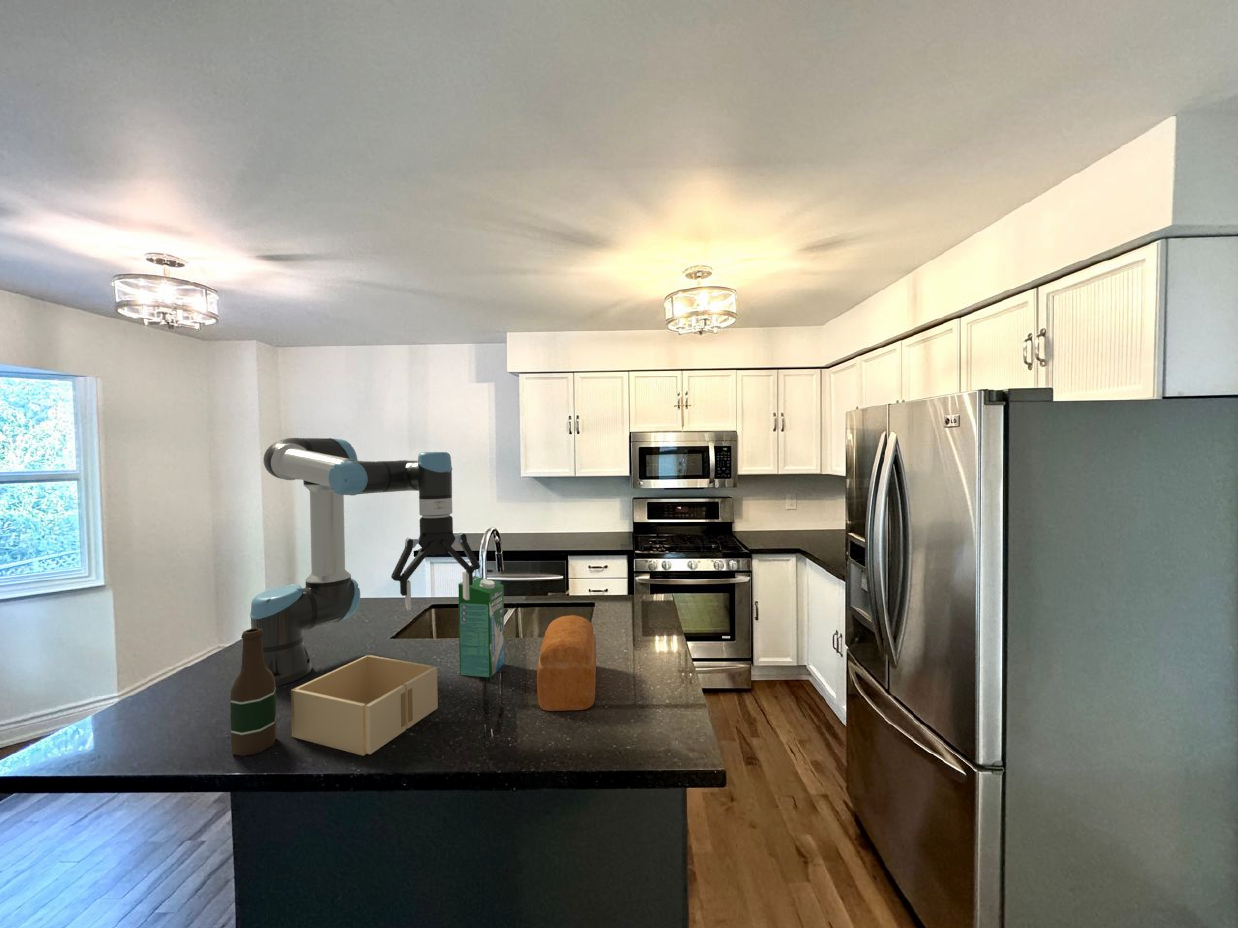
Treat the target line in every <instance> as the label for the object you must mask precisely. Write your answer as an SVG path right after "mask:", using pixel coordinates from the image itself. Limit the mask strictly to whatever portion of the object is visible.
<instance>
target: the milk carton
mask: <svg viewBox="0 0 1238 928" xmlns="http://www.w3.org/2000/svg"><path fill="white" fill-rule="evenodd" d="M457 588H458V633H459V634H458V637H459V638H458V639H459V640H458V641H459V644H458V647H459V649H458V650H459V651H458V652H459V654H458V655H459V675H460V676H470V677H481V678H482V677H483V678H492V677H493V676H494V675H495V674H496V673H497V672H498V671H499V670H500V669H501V668H502V667H503V666H504V665H505V612H504V611H505V608H504V607H505V605H504V600H505V599H504V595H505V594H504V592H505V591H504V584H501V583H499V582H495V580H491V579H487V578H486V579H485V578H482V577H480V576H476V575H473V584H472V585H469V600H465V599H464V598H463V581H461V582H459V583H458V587H457Z"/></svg>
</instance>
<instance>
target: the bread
mask: <svg viewBox="0 0 1238 928" xmlns="http://www.w3.org/2000/svg"><path fill="white" fill-rule="evenodd" d="M596 640H597V638H596V634H595V633H594V626H593V623H591V622H590V621H589V619H587V618H585V617H583V616H579V615H577V614H576V615H575V614H573V615H572V614H571V615H562V616H560V617H557V618H555V619H554V620H552V621H551V622H550V624H548V627H547V628H546V630H545V634H544V637H543V639H542V642H541V647H540V651H539V652H540V653H539V657H538V662H537V668H536V687H537V688H536V689H537V703H538V706H539V707H540V709H541V710H543V711H548V712H549V711H550V712H555V711H556V712H557V711H558V712H560V711H561V712H562V711H563V712H565V711H583V710H587V709H589V708H591V707H593V706H594V705H593V704H594V702H595V701H596V699H595V698H596V678H597V676H596V674H597V673H596V672H597V671H596V670H597V645H596V644H597V642H596Z"/></svg>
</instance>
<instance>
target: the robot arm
mask: <svg viewBox="0 0 1238 928" xmlns="http://www.w3.org/2000/svg"><path fill="white" fill-rule="evenodd" d="M263 464H264V465H263V466H264V468H265V470H266V471H267V472H268V473H269V474H270V475H271V476H273V477H275V478H277V479H281V480H285V481H296V480H302V481H303V487H305V488H306V489H307V490H308V491H309V511H310V513H309V516H310V518H309V519H310V520H309V521H310V524H309V525H310V563H311V565H310V566H311V567H310V568H311V569H310V570H311V573H310V574H309V575H308V576H307V577H306V578H305V586H304V587H302V586H301V585H300V584H287V585H280V586H277V587H273V588H270V589H267V590H264V591H262V592H260V593H258V594H257V595H256V596H254V598H253V599H252V600H251V603H250V614H249V617H250V629H253V628H259V629H262V630H263V635H262V643H263V654H264V661H265V665H266V667H267V668H268V669H269V670H270V671H271V672H272V673H273V675H274V677H275V684H276V687H279V686H283V685H287V684H289V683H293V682H295V681H297V680H300V679H303V678H304V677H306V676H307V675H308V674H310V672H311V671H312V660H311V657H310V655H309V653H308V650H307V647H306V646H305V643H304V631H307V630H311V629H315V628H319V627H323V626H326V625H329V624H333V623H335V624H336V623H339V622H341V621H343V620H345V619H348V618H350V617H352V616H353V615H354V614H355V613H356V612H357V610H358V607H359V605H360V602H361V601H360V600H361V589H360V587H359V583H358V582H357V580H355V579H354V578H352V575H351V573H350V572H349V571H347V569H346V556H345V555H346V554H345V553H346V549H345V548H346V546H345V545H346V543H345V541H346V540H345V502H344V501H345V499H344V498H345V497H344V496H358V495H364V494H365V495H366V494H367V495H368V494H377V493H381V494H382V493H394V492H409V491H410V492H411V491H412V492H414V491H418V498H419V499H418V500H419V501H418V503H419V504H418V506H419V509H418V511H419V513H418V514H419V516H421V517H420V519H419V536H418V538H410V537H407V538H406V539H405V541H404V542H405V543H404V549H403V550H402V553H401V554H400V557H399V559H398V561H397V563H396V565H395V567H394V570H393V572H392V573H391V579H392V580H393V581H397V582H399V588H400V589H399V590H400V591H399V592H400V595H401V596H402V597H404V600H405V601H404V606H405V609H406V611H411V610H412V586H411V585H412V583H411V582H412V581H410V580H409V579H410V578H411V577H412V575H413V574H414V572H416V570H417V569H418V567H419V566H420V565H421V563H422V562H423V561H424V560H425V559H426V558H427V557H428V556H432V557H433V556H436V555H445V554H446V553H448V554H449V555H450V556H451V557H452V558H453V559H454V560H455V561H456V562H457V563H458V564H459V565H460V566H461V567H462V568H463V569H464V570H465V571H462V582H463V598H464V599H465V600H469V585H472V584H473V576H474V573H475V571H476V570H479V569H480V568H481V565H480V563H479V561H478V560H477V557H476V556H475V554H474V552H473V550H472V548H471V546H470V545H469V543H468V537H467V534H466V533H463V532H459V533H458V534H454V526H453V525H454V524H453V523H454V520H453V516H452V515H451V514H453V477H452V476H453V473H452V472H453V467H452V456H451V455H450V453H449V452H446V451H440V452H439V451H429V452H428V451H425V452H424V451H423V452H420V453H419V454H418V457H417V460H407V459H405V460H401V459H400V460H380V461H379V460H378V461H370V460H369V461H367V460H364V461H363V460H358V455H357V452H356V449H355V448H354V447H353V446H352V445H351V443H350V442H348V441H347V440H345V439H340V438H331V437H329V438H319V437H318V438H317V437H315V438H313V437H312V438H311V437H303V438H302V437H289V438H284V439H283V438H282V439H280V440H278V441H276V442H273V443H271V445H269V447H268V448H267V449H266V450H265V452H264V454H263ZM455 541H456V542H457V543H459V544H460V546H461V548H462V550H463V551H464V554H465V555H466V556H467V559H468V561H469V563H470V564H469V563H468V562H467V561H466V560H465V559H464V558H463V557H462V556H461V555H460V554H459V553H458V552H457V551H456V550H455V549H454V547H452V545H453V544H454V543H455ZM417 544H418V545H419V547H420V550H419V551H418V553H417V555H415V557H414V558H413V559H412V561H411V562H410V563H409V565H408V566H407V567H406V568H405V566H406V565H407V562H408V560H409V558H410V556H411V553H412V552H413V549H415V548H416V546H417ZM404 569H405V570H404ZM403 570H404V571H403Z"/></svg>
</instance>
